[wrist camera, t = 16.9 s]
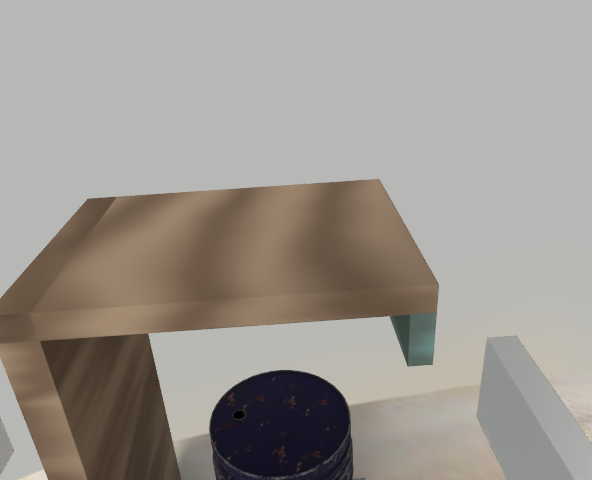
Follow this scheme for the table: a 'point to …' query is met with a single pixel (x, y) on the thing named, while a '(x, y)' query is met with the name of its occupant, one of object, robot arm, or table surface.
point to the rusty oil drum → (282, 429)
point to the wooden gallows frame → (191, 304)
